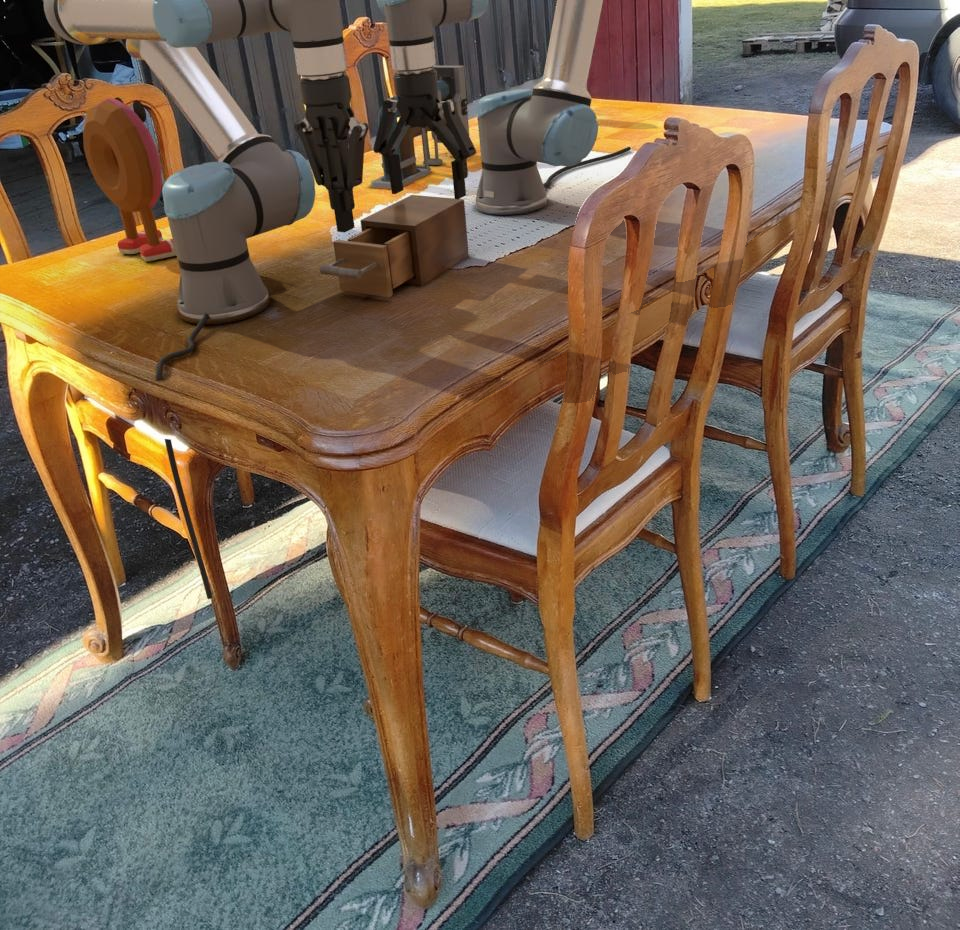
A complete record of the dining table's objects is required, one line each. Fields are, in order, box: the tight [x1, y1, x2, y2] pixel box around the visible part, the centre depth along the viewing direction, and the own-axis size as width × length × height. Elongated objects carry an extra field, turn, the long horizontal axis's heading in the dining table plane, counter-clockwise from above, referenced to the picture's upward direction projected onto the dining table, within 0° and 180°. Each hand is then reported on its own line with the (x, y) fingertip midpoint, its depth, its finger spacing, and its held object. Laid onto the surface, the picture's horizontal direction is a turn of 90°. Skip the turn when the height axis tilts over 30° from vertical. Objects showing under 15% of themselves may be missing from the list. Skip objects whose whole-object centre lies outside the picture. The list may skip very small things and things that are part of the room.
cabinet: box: [360, 194, 470, 286], centre depth 175 cm, size 16×12×11 cm
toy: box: [82, 96, 177, 262], centre depth 190 cm, size 21×10×30 cm, turn 47°
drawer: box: [319, 227, 415, 298], centre depth 166 cm, size 21×10×9 cm, turn 150°
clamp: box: [369, 65, 470, 190], centre depth 235 cm, size 35×9×21 cm, turn 151°
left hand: (346, 229), depth 157 cm, fingers closed
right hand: (428, 194), depth 175 cm, fingers open, 13 cm apart
